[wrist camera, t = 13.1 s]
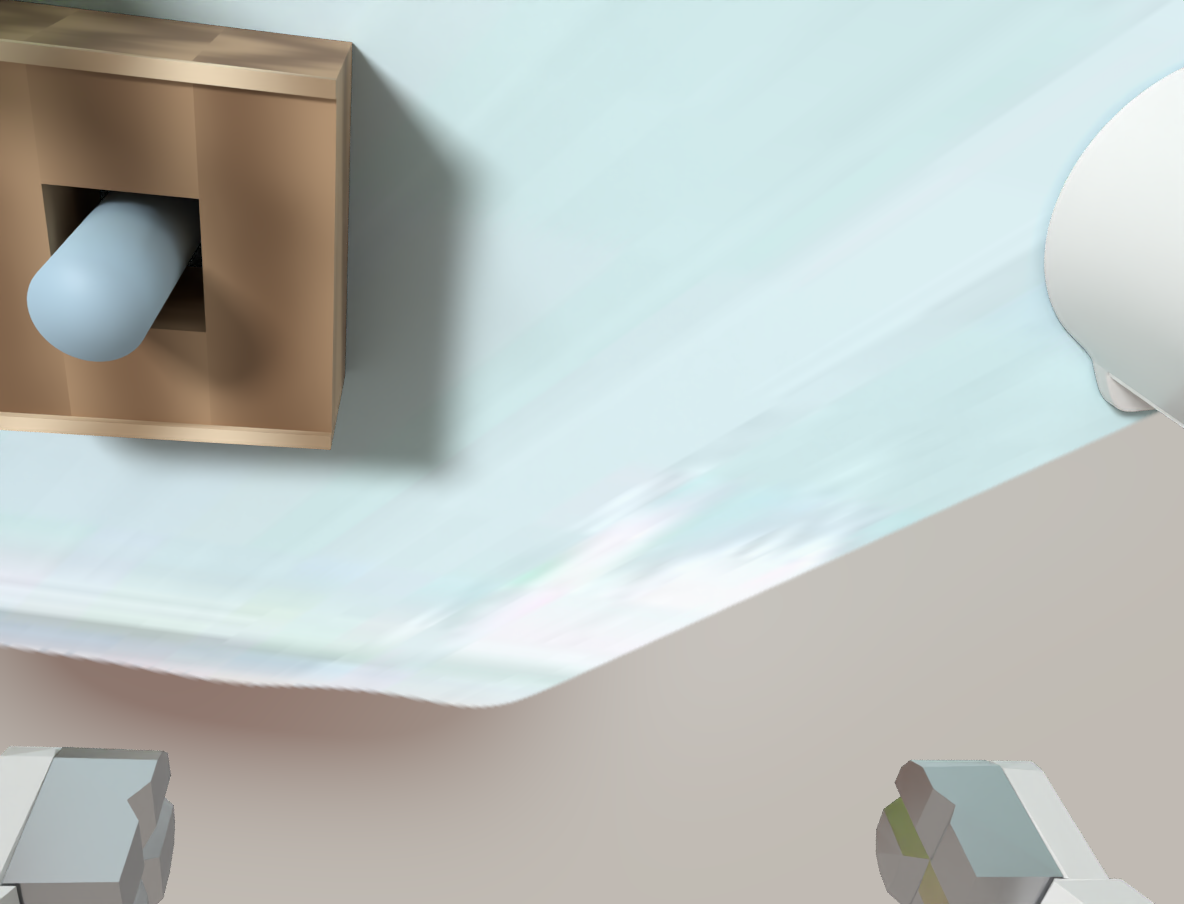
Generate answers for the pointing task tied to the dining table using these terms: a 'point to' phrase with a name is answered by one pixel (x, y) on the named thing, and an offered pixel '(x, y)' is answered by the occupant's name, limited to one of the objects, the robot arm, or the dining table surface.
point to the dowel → (114, 274)
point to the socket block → (227, 220)
